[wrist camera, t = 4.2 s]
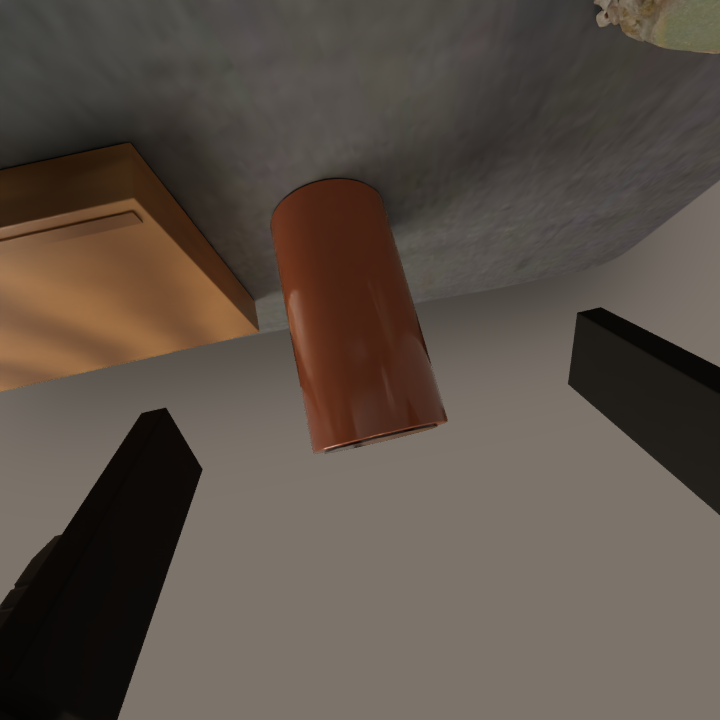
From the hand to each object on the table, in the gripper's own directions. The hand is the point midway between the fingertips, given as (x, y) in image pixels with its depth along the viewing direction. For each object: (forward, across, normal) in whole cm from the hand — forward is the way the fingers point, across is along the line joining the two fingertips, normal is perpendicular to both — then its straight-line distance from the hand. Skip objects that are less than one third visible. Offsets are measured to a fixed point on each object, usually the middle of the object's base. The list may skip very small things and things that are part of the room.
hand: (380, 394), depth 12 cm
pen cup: (+12, 0, +4) cm, 12 cm away
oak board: (+12, -17, +4) cm, 21 cm away
